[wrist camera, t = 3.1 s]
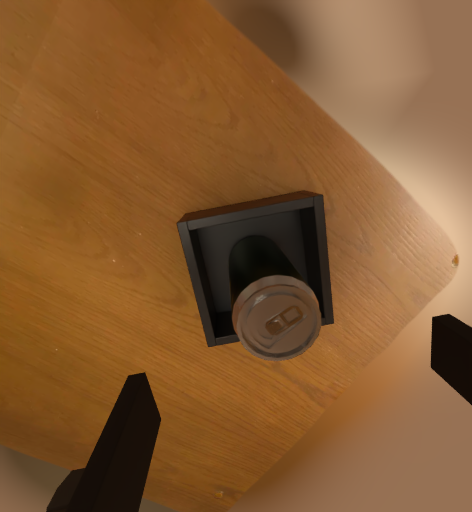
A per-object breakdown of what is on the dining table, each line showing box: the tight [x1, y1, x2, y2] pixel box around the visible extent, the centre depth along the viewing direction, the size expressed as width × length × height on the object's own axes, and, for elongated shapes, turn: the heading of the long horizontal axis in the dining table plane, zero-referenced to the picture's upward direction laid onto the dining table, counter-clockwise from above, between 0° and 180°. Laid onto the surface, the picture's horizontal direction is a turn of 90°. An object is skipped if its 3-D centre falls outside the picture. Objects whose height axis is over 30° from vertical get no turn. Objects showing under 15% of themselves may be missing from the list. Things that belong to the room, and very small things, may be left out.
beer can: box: [228, 236, 321, 361], centre depth 21 cm, size 5×5×12 cm
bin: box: [177, 191, 334, 347], centre depth 25 cm, size 12×12×5 cm
